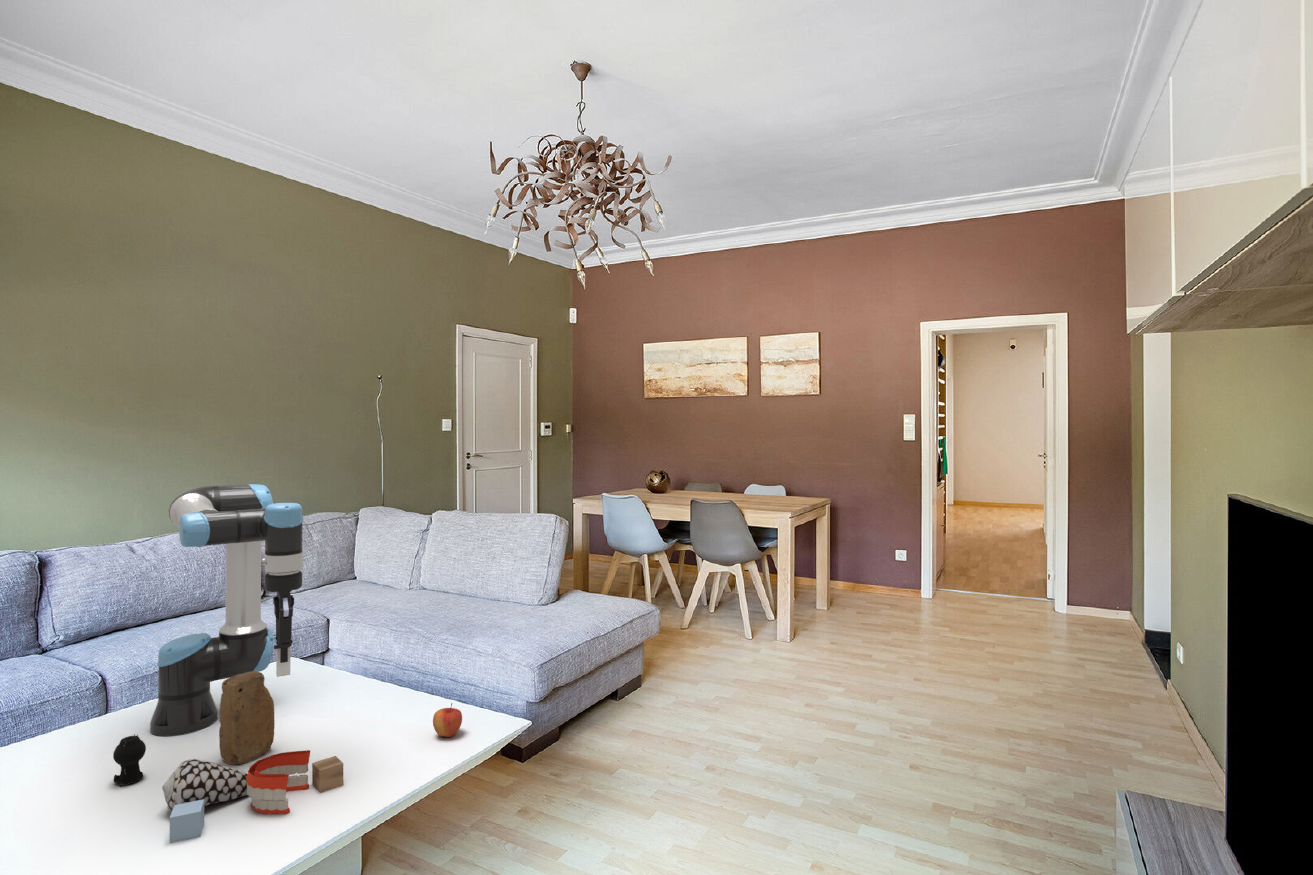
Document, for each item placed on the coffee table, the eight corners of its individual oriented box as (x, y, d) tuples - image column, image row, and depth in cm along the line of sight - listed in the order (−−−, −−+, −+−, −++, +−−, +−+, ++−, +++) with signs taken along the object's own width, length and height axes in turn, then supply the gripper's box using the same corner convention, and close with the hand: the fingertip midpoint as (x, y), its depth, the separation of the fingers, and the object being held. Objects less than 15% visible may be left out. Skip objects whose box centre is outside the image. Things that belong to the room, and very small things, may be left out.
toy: (263, 787, 153) (263, 751, 153) (311, 785, 154) (311, 749, 154) (234, 818, 141) (234, 779, 141) (287, 815, 142) (287, 777, 142)
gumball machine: (119, 776, 158) (119, 733, 158) (150, 771, 160) (150, 729, 160) (108, 790, 152) (108, 745, 152) (141, 785, 154) (140, 740, 154)
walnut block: (312, 784, 154) (312, 762, 154) (335, 777, 158) (335, 755, 158) (319, 793, 151) (319, 770, 151) (343, 785, 154) (343, 762, 154)
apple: (426, 739, 177) (426, 708, 177) (445, 728, 184) (445, 698, 184) (449, 744, 174) (449, 712, 174) (468, 732, 181) (468, 702, 181)
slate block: (174, 830, 137) (174, 805, 137) (204, 823, 139) (204, 799, 139) (169, 843, 132) (169, 817, 132) (200, 836, 134) (200, 811, 134)
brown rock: (231, 769, 161) (231, 684, 161) (216, 761, 165) (216, 678, 165) (278, 751, 170) (278, 671, 170) (262, 744, 174) (262, 665, 174)
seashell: (193, 827, 138) (193, 777, 138) (151, 814, 142) (150, 766, 142) (266, 788, 153) (266, 743, 153) (225, 777, 157) (225, 734, 157)
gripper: (262, 568, 159) (262, 668, 160) (266, 579, 148) (266, 687, 149) (299, 564, 163) (298, 663, 164) (305, 575, 152) (305, 680, 153)
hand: (283, 674), depth 156 cm, fingers closed
